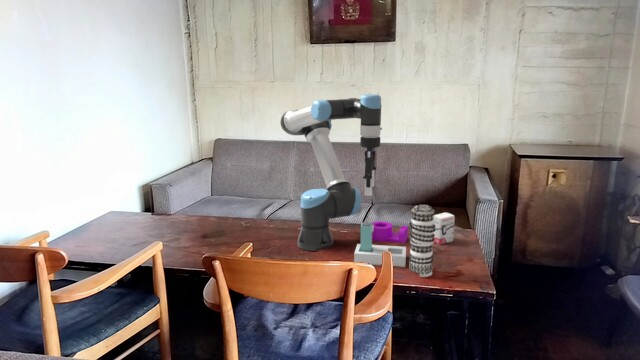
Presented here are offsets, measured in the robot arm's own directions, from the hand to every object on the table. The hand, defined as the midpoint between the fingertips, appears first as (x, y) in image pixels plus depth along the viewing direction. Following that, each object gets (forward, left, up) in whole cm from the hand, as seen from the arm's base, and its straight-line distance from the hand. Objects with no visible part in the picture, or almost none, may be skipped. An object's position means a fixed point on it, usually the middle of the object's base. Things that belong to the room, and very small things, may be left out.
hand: (369, 190), depth 183 cm
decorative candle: (+20, -13, -27) cm, 36 cm away
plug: (0, -7, -26) cm, 26 cm away
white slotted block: (+5, -7, -27) cm, 28 cm away
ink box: (+30, +20, -27) cm, 45 cm away
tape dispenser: (+6, +19, -27) cm, 34 cm away
